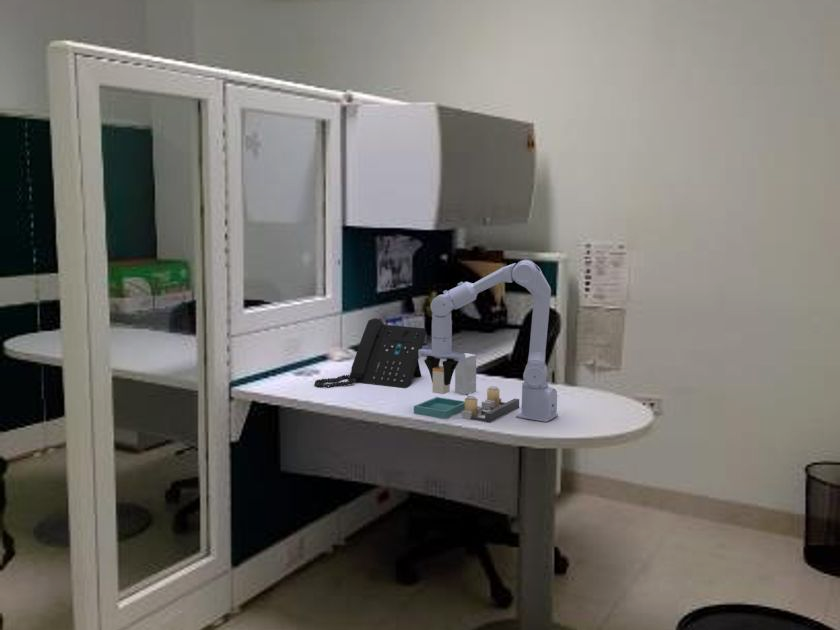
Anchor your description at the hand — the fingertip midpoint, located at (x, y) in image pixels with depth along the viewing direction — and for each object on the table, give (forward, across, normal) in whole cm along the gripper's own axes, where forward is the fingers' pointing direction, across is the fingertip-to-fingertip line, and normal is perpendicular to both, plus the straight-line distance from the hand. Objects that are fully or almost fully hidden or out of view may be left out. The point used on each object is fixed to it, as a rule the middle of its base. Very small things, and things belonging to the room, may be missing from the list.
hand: (441, 383), depth 229 cm
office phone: (+9, +39, -18) cm, 44 cm away
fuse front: (+8, -10, 0) cm, 13 cm away
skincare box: (+8, +5, -24) cm, 25 cm away
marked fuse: (+2, 0, 0) cm, 2 cm away
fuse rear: (+8, -10, -13) cm, 19 cm away
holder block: (+8, -13, -7) cm, 17 cm away
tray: (+8, 0, 0) cm, 8 cm away
